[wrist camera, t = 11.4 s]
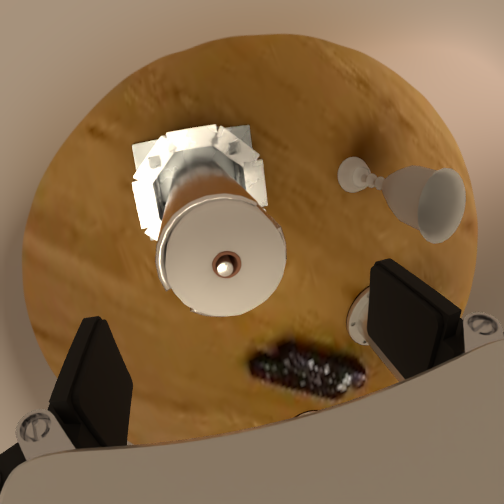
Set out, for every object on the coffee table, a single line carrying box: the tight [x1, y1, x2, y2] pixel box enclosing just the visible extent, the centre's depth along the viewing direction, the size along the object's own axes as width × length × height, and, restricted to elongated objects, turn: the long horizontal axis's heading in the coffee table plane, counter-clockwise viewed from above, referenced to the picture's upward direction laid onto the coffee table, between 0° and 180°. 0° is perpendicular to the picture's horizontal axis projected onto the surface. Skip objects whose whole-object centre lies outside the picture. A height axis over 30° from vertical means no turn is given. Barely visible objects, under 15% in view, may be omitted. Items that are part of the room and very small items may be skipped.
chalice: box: [338, 157, 466, 244], centre depth 34 cm, size 7×7×18 cm
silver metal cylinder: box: [155, 156, 287, 317], centre depth 26 cm, size 6×6×25 cm
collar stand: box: [132, 124, 268, 241], centre depth 34 cm, size 14×13×8 cm
